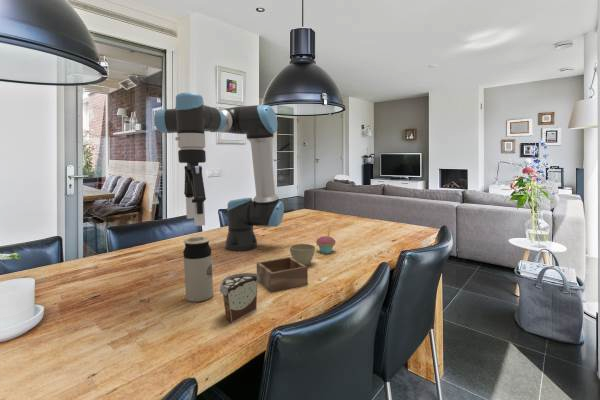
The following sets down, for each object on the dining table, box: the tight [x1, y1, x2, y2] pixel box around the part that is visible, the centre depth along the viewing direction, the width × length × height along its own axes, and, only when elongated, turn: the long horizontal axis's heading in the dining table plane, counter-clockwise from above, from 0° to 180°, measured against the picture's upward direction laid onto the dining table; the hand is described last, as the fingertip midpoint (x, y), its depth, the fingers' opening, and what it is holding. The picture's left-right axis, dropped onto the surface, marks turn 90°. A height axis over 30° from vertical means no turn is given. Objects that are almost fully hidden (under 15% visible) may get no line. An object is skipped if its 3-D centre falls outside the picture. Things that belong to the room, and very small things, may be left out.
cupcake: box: [315, 226, 336, 254], centre depth 146 cm, size 9×8×12 cm
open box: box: [256, 256, 309, 293], centre depth 112 cm, size 13×13×6 cm
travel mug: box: [183, 236, 214, 303], centre depth 100 cm, size 8×8×18 cm
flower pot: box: [289, 243, 316, 267], centre depth 130 cm, size 10×10×7 cm
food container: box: [219, 272, 260, 324], centre depth 89 cm, size 12×6×10 cm, turn 145°
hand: (195, 221), depth 98 cm, fingers open, 13 cm apart
